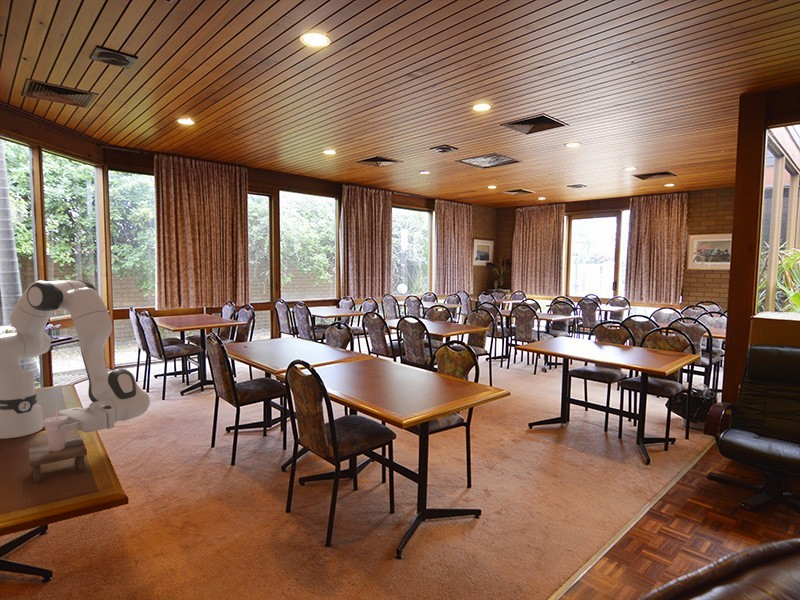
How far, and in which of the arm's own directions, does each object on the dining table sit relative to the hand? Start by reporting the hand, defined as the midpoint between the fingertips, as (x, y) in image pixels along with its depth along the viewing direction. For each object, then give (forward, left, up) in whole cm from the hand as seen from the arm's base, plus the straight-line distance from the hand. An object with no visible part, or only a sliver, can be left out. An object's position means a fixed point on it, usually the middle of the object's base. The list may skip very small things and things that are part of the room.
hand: (52, 426), depth 146 cm
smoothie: (0, +1, -8) cm, 8 cm away
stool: (0, +1, -15) cm, 15 cm away
